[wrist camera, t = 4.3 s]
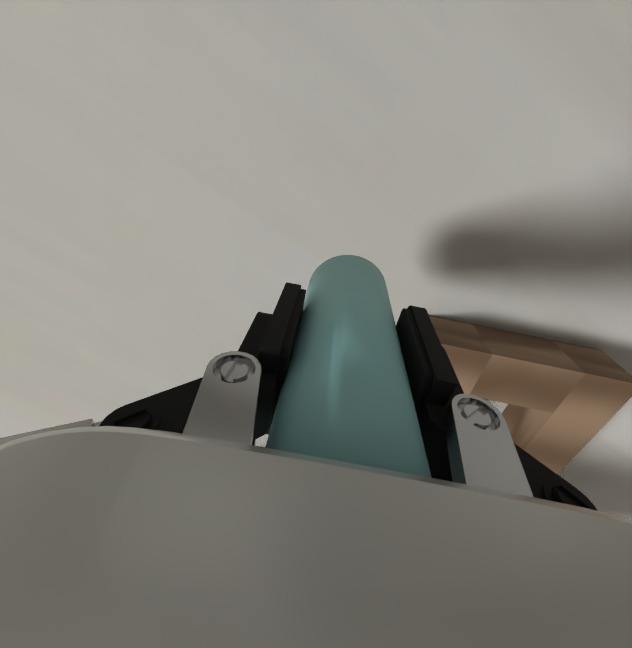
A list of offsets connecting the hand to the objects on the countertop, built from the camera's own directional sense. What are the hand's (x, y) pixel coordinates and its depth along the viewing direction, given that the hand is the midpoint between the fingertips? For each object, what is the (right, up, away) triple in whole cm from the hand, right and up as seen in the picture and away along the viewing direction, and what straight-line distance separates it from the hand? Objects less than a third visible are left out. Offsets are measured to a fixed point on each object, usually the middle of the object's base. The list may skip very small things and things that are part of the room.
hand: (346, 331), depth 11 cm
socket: (+11, -6, +13) cm, 18 cm away
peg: (0, +2, +3) cm, 3 cm away
